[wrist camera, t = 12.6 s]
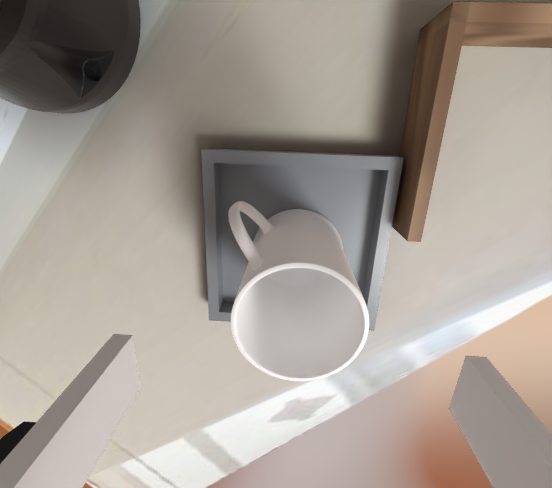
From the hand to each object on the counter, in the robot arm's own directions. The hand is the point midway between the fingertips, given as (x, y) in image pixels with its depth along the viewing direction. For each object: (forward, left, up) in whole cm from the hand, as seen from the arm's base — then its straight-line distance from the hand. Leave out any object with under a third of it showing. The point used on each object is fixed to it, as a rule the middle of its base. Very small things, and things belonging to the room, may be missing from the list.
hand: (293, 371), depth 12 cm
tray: (0, 0, -18) cm, 18 cm away
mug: (0, 0, -17) cm, 17 cm away
